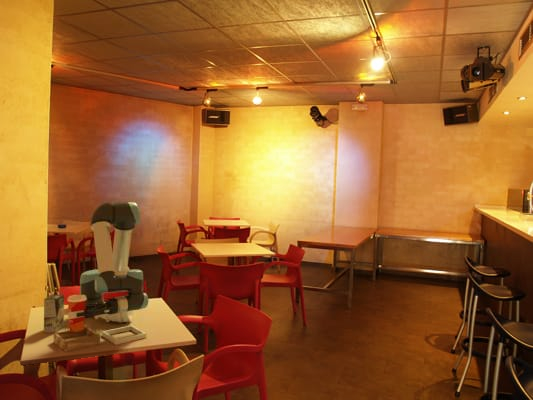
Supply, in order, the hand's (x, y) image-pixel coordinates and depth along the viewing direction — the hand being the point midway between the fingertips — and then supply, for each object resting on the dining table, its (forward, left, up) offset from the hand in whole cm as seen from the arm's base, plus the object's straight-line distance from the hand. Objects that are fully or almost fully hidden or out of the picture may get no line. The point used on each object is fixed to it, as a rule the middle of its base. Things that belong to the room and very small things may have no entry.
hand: (65, 314), depth 199 cm
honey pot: (-14, +37, -7) cm, 40 cm away
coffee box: (-25, +3, -14) cm, 29 cm away
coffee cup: (0, +5, -8) cm, 10 cm away
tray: (+5, +25, -14) cm, 29 cm away
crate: (0, +5, -14) cm, 15 cm away
